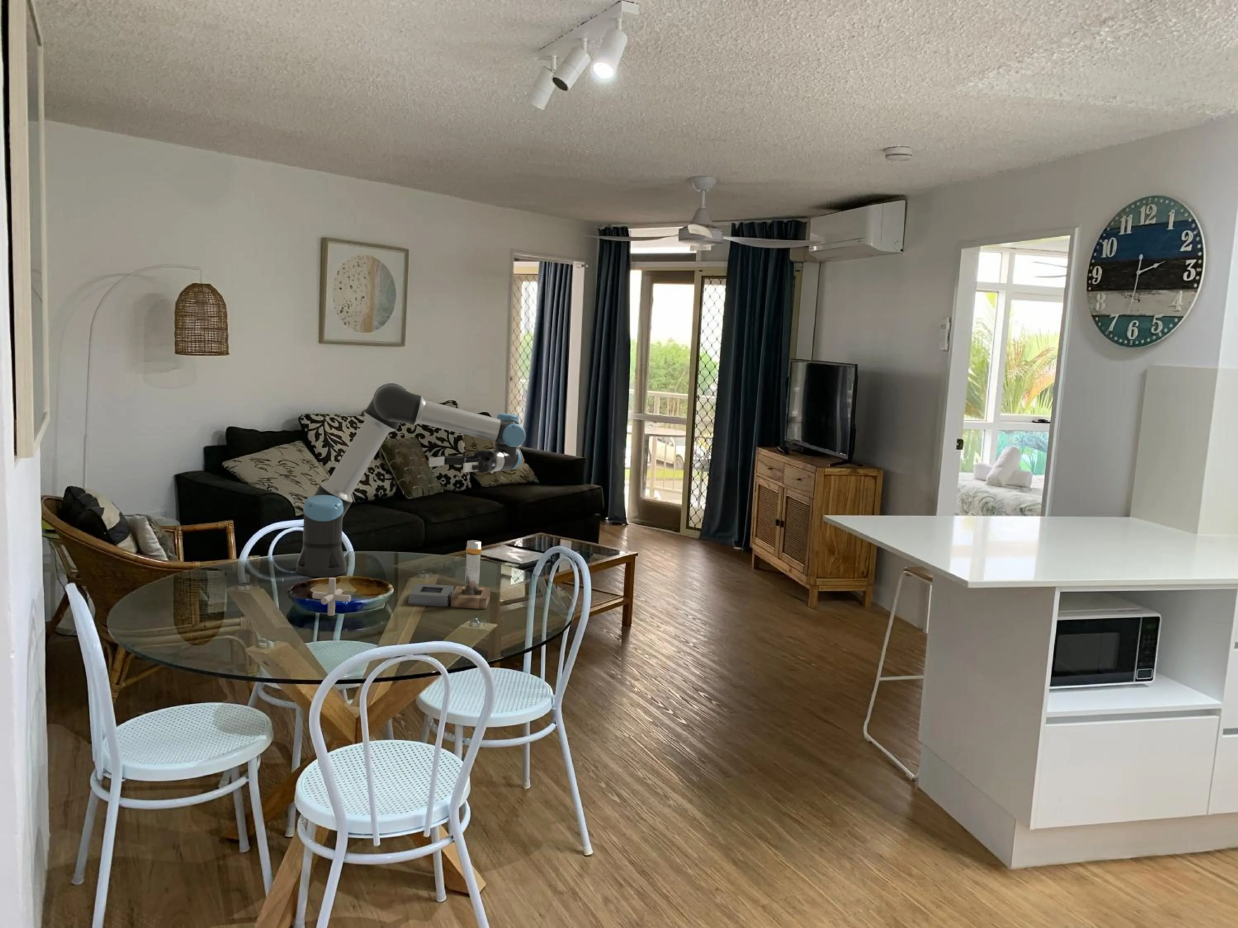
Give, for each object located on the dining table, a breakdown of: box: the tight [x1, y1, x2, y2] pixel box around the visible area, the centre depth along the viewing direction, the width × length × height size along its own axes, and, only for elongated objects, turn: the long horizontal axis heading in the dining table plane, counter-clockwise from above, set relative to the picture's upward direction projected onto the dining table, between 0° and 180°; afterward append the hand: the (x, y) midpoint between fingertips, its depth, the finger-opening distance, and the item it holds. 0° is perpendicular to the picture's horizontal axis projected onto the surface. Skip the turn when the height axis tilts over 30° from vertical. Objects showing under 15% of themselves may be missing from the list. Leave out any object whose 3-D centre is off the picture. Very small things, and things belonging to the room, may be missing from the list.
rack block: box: [450, 585, 492, 610], centre depth 267 cm, size 10×12×3 cm
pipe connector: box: [312, 577, 352, 617], centre depth 245 cm, size 10×10×10 cm
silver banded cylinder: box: [464, 539, 482, 595], centre depth 266 cm, size 4×4×18 cm
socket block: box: [407, 583, 454, 607], centre depth 266 cm, size 11×12×3 cm
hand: (446, 465), depth 287 cm, fingers open, 13 cm apart
